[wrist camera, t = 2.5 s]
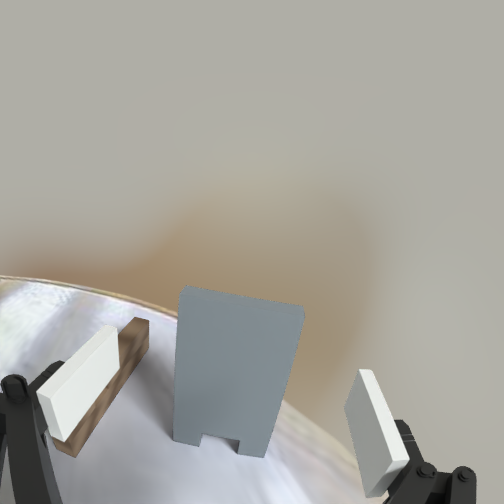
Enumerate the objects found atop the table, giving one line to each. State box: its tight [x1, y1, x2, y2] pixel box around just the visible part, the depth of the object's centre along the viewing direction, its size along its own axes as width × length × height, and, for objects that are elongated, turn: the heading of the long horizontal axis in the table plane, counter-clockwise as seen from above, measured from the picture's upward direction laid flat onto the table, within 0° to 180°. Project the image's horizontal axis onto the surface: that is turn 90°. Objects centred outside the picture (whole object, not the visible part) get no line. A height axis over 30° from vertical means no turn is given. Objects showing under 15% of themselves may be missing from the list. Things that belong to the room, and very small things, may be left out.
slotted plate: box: [173, 285, 305, 458], centre depth 27 cm, size 10×2×18 cm, turn 86°
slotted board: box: [52, 317, 149, 458], centre depth 33 cm, size 24×2×5 cm, turn 176°
